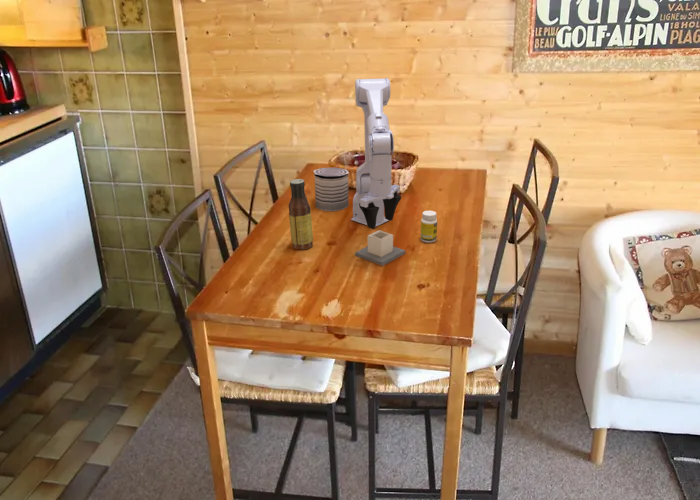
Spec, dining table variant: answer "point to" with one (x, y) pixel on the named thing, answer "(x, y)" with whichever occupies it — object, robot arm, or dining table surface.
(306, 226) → the sauce bottle
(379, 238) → the box
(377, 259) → the base plate
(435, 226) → the supplement bottle
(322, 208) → the can
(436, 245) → the dining table surface
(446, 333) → the dining table surface
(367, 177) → the robot arm
